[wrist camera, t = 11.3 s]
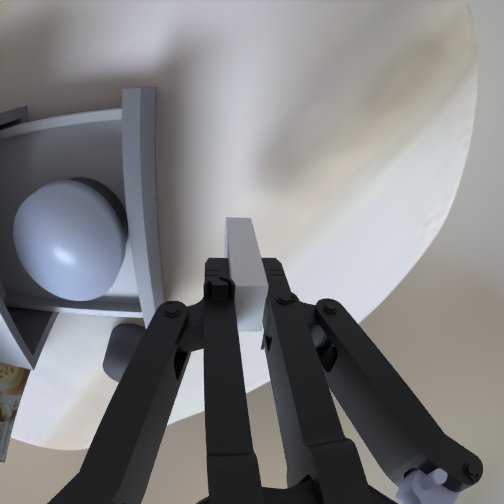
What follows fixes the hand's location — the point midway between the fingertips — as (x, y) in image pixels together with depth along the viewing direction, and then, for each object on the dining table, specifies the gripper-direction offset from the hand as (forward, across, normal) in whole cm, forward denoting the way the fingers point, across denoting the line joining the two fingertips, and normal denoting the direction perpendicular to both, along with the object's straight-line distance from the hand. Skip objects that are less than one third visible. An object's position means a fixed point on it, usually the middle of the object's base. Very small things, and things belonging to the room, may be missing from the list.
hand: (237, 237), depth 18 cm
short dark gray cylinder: (+4, -10, -14) cm, 17 cm away
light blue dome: (0, -11, 0) cm, 11 cm away
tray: (+3, -14, 0) cm, 14 cm away
